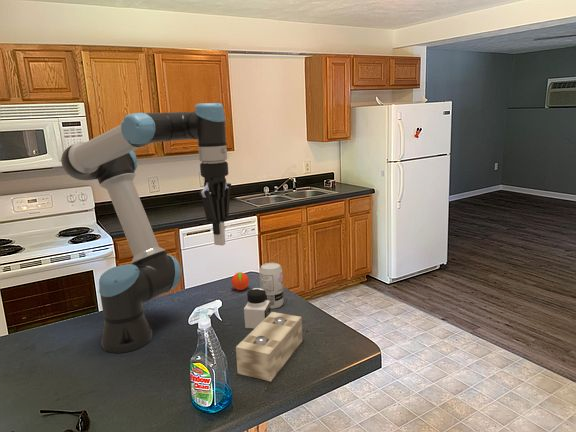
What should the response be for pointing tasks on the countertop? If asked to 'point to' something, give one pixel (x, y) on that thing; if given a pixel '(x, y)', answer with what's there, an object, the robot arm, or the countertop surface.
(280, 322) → the pin
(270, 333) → the pin block
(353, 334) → the countertop surface
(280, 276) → the supplement can
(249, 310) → the medicine bottle
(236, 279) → the tomato
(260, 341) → the pin
